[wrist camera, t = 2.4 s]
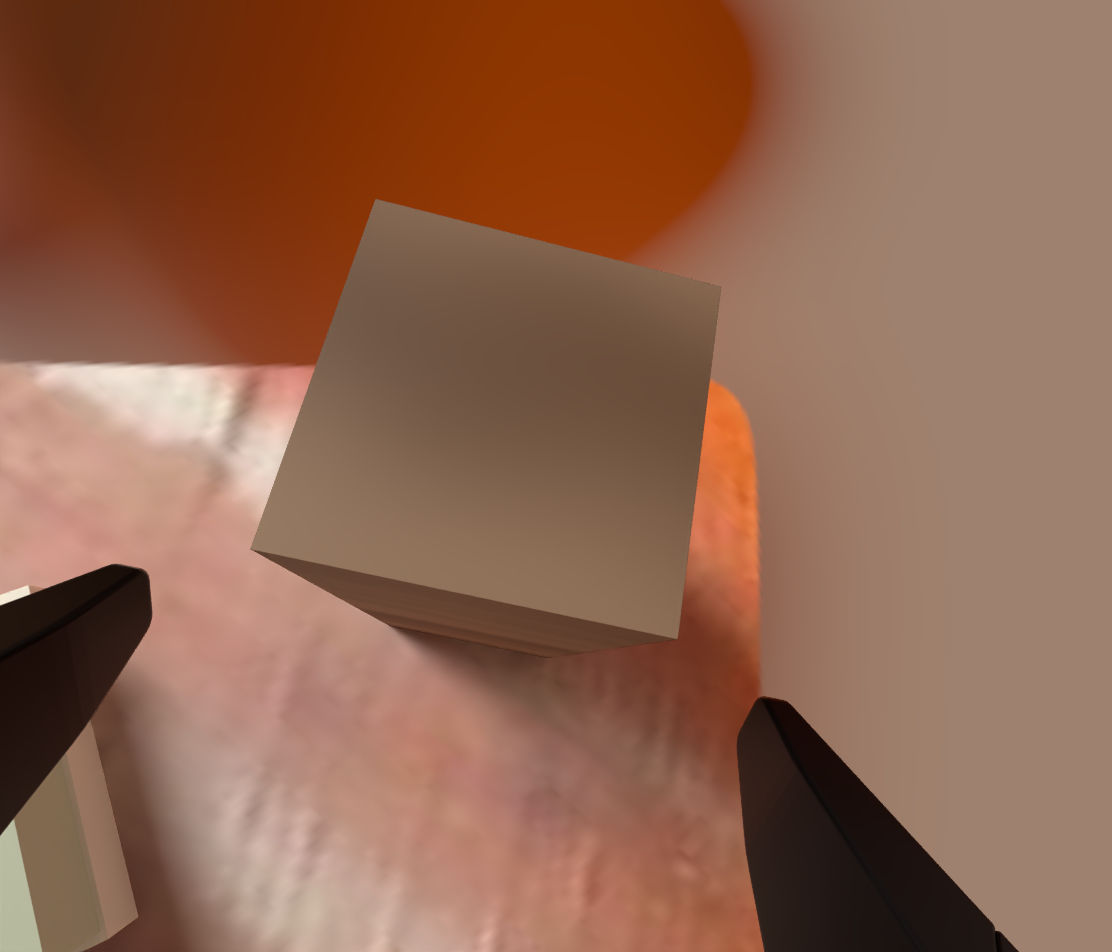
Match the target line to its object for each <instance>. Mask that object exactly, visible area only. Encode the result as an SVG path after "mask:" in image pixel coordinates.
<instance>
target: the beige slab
mask: <svg viewBox="0 0 1112 952" xmlns="http://www.w3.org/2000/svg"><path fill="white" fill-rule="evenodd" d="M43 589H45V588H40V587H35V586H30V585H27V586H25V587H22V588H19V589H16V590H13V591H10V592H8V593H5V594H2V595H0V605H2V604H5V603H8V602H10V601H13V600H16V599H18V598H21V597H24V596H27V595H29V594H32V593H35V592H37V591H40V590H43ZM61 764H62V769H63V773H64V777H65V781H66V786H67V790H68V794H69V799H70V803H71V807H72V811H73V816H74V820H75V824H76V829H77V833H78V837H79V841H80V846H81V850H82V854H83V858H84V863H85V867H86V871H87V876H88V880H89V884H90V888H91V893H92V897H93V901H94V906H95V910H96V914H97V918H98V923H99V927H100V932H98V933H97V934H96V935H94V936H93V937H91V938H90V939H88V940H87V941H86V942H84V943H83V944H81V945H80V946H79V947H77V948H76V949H74V950H73V951H72V952H83V951H85V950H87V949H89V948H91V947H93V946H95V945H97V944H99V943H101V942H103V941H105V940H107V939H109V938H110V937H112V936H113V935H115V934H116V933H117V932H119V931H120V930H121V929H123V928H124V927H125V926H127V925H128V924H129V923H131V922H132V921H134V920H135V919H136V918H138V913H137V909H136V905H135V901H134V896H133V892H132V888H131V884H130V880H129V876H128V872H127V868H126V863H125V859H124V855H123V851H122V847H121V843H120V839H119V835H118V830H117V826H116V822H115V818H114V814H113V810H112V806H111V802H110V797H109V793H108V789H107V785H106V781H105V777H104V773H103V769H102V764H101V760H100V756H99V752H98V748H97V744H96V740H95V736H94V731H93V727H92V723H91V720H90V721H89V723H88V724H87V726H86V727H85V728H84V730H83V731H82V732H81V734H80V735H79V736H78V738H77V739H76V740H75V742H74V743H73V744H72V746H71V747H70V748H69V749H68V751H67V752H66V753H65V755H64V756H63V757H62V758H61Z"/></svg>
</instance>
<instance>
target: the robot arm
mask: <svg viewBox="0 0 1112 952" xmlns="http://www.w3.org/2000/svg"><path fill="white" fill-rule="evenodd" d="M151 620H152V602H151V591H150V580H149V575H148V573H147V572H146V571H145V570H144V569H142V568H137V567H132V566H127V565H123V564H111V565H108V566H105V567H102V568H100V569H97V570H94V571H92V572H89V573H86V574H84V575H81V576H78V577H75V578H73V579H70V580H67V581H65V582H62V583H59V584H56V585H54V586H51V587H48V588H46V589H43V590H40V591H37V592H35V593H32V594H29V595H27V596H24V597H21V598H18V599H16V600H13V601H10V602H8V603H5V604H2V605H0V836H1V834H2V833H3V832H4V831H5V829H6V828H7V827H8V826H9V824H10V823H11V822H12V821H13V819H14V818H15V817H16V815H17V814H18V813H19V812H20V810H21V809H22V808H23V807H24V805H25V804H26V803H27V802H28V800H29V799H30V798H31V796H32V795H33V794H34V793H35V791H36V790H37V789H38V788H39V786H40V785H41V784H42V782H43V781H44V780H45V779H46V777H47V776H48V775H49V774H50V772H51V771H52V770H53V769H54V767H55V766H56V765H57V763H58V762H59V761H60V760H61V758H62V757H63V756H64V755H65V753H66V752H67V751H68V749H69V748H70V747H71V746H72V744H73V743H74V742H75V740H76V739H77V738H78V736H79V735H80V734H81V732H82V731H83V730H84V728H85V727H86V726H87V724H88V723H89V721H90V720H91V718H92V717H93V715H94V714H95V712H96V711H97V709H98V708H99V706H100V704H101V703H102V701H103V700H104V698H105V697H106V695H107V693H108V692H109V690H110V689H111V687H112V686H113V684H114V682H115V681H116V679H117V678H118V676H119V675H120V673H121V671H122V670H123V668H124V667H125V665H126V664H127V662H128V660H129V659H130V657H131V656H132V654H133V653H134V651H135V649H136V648H137V646H138V645H139V643H140V642H141V640H142V638H143V637H144V635H145V634H146V632H147V630H148V628H149V626H150V623H151ZM737 758H738V769H739V781H740V793H741V805H742V816H743V828H744V838H745V847H746V855H747V861H748V867H749V872H750V878H751V883H752V888H753V894H754V899H755V904H756V910H757V915H758V920H759V925H760V931H761V936H762V941H763V947H764V952H1019V951H1018V950H1017V949H1016V948H1015V947H1014V946H1013V945H1012V944H1011V943H1010V942H1009V941H1008V940H1007V938H1005V936H1004V935H1003V934H1002V933H1001V932H999V931H995V927H994V925H993V923H992V922H991V921H990V920H989V919H988V918H987V917H986V916H985V915H984V914H983V913H982V912H981V910H979V908H978V907H977V906H976V905H975V904H974V903H973V902H972V901H971V900H970V899H969V898H968V896H967V895H966V894H965V893H964V892H963V891H962V890H961V889H960V888H959V887H958V886H957V884H956V883H955V882H954V881H953V880H952V879H951V878H950V877H949V876H948V875H947V874H946V873H945V871H944V870H943V869H942V868H941V867H940V866H939V865H938V864H937V863H936V862H935V861H934V860H933V858H932V857H931V856H930V855H929V854H928V853H927V852H926V851H925V850H924V849H923V848H922V846H921V845H920V844H919V843H918V842H917V841H916V840H915V839H914V838H913V837H912V836H911V834H910V833H909V832H908V831H907V830H906V829H905V828H904V827H903V826H902V825H901V824H900V823H899V821H897V819H896V818H895V817H894V816H893V815H892V814H891V813H890V812H889V811H888V810H887V808H886V807H885V806H884V805H883V804H882V803H881V802H880V801H879V800H878V799H877V798H876V796H874V794H873V793H872V792H871V791H870V790H869V789H868V788H867V787H866V786H865V785H864V784H863V782H862V781H861V780H860V779H859V778H858V777H857V776H856V775H855V774H854V773H853V772H852V771H851V769H850V768H849V767H848V766H847V765H846V764H845V763H844V762H843V761H842V760H841V758H839V756H838V755H837V754H836V753H835V752H834V751H833V750H832V749H831V748H830V747H829V746H828V745H827V743H826V742H825V741H824V740H823V739H822V738H821V737H820V736H819V735H818V734H817V733H816V731H815V730H814V729H813V728H812V727H811V726H810V725H809V724H808V723H807V722H806V720H804V718H803V717H802V716H801V715H800V714H799V713H798V712H797V711H796V710H795V709H794V708H793V706H792V705H791V704H789V703H788V702H787V701H784V700H780V699H776V698H771V697H765V696H763V697H759V698H758V699H757V700H756V701H755V703H754V705H753V707H752V709H751V710H750V712H749V714H748V716H747V718H746V720H745V722H744V724H743V725H742V727H741V729H740V731H739V734H738V738H737Z"/></svg>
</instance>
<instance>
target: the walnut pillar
mask: <svg viewBox="0 0 1112 952" xmlns="http://www.w3.org/2000/svg"><path fill="white" fill-rule="evenodd" d="M720 293H721V286H717V285H713V284H709V283H705V282H701V281H697V280H693V279H690V278H686V277H682V276H677V275H674V274H670V273H666V272H662V271H658V270H654V269H650V268H646V267H642V266H638V265H634V264H630V263H626V262H622V261H618V260H614V259H610V258H606V257H603V256H599V255H595V254H591V253H586V252H583V251H578V250H575V249H571V248H567V247H563V246H559V245H555V244H551V243H547V242H543V241H539V240H535V239H531V238H527V237H523V236H520V235H516V234H512V233H507V232H504V231H500V230H496V229H491V228H487V227H484V226H480V225H476V224H472V223H468V222H464V221H460V220H456V219H452V218H448V217H444V216H440V215H436V214H433V213H429V212H425V211H421V210H417V209H412V208H409V207H405V206H401V205H397V204H393V203H389V202H384V201H381V200H377V199H376V200H375V203H374V206H373V208H372V211H371V214H370V216H369V219H368V222H367V225H366V228H365V230H364V234H363V236H362V239H361V242H360V244H359V247H358V250H357V253H356V256H355V258H354V261H353V264H352V267H351V270H350V272H349V275H348V278H347V281H346V284H345V286H344V289H343V292H342V295H341V297H340V300H339V303H338V306H337V309H336V311H335V314H334V317H333V320H332V323H331V325H330V328H329V331H328V334H327V337H326V340H325V342H324V345H323V348H322V351H321V353H320V356H319V359H318V362H317V364H316V367H315V370H314V373H313V376H312V378H311V381H310V384H309V387H308V390H307V392H306V395H305V398H304V401H303V404H302V406H301V409H300V412H299V415H298V418H297V420H296V423H295V426H294V429H293V431H292V434H291V437H290V440H289V443H288V445H287V448H286V451H285V454H284V457H283V459H282V462H281V465H280V468H279V471H278V473H277V476H276V479H275V482H274V485H273V487H272V490H271V493H270V496H269V498H268V501H267V504H266V507H265V510H264V512H263V515H262V518H261V521H260V524H259V526H258V529H257V532H256V535H255V538H254V540H253V543H252V546H251V550H253V551H255V552H257V553H258V554H260V555H262V556H264V557H266V558H267V559H269V560H271V561H273V562H275V563H277V564H278V565H280V566H282V567H284V568H286V569H287V570H289V571H291V572H293V573H295V574H296V575H298V576H300V577H302V578H304V579H306V580H307V581H309V582H311V583H313V584H315V585H316V586H318V587H320V588H322V589H324V590H326V591H327V592H329V593H331V594H333V595H335V596H336V597H338V598H340V599H342V600H344V601H345V602H347V603H349V604H351V605H353V606H355V607H356V608H358V609H360V610H362V611H364V612H365V613H367V614H369V615H371V616H373V617H375V618H376V619H378V620H380V621H382V622H384V623H385V624H387V625H390V626H395V627H400V628H405V629H410V630H415V631H419V632H424V633H429V634H434V635H439V636H444V637H449V638H453V639H458V640H463V641H468V642H473V643H478V644H483V645H488V646H492V647H497V648H502V649H507V650H512V651H517V652H522V653H526V654H531V655H536V656H541V657H546V658H552V657H559V656H566V655H572V654H579V653H586V652H593V651H600V650H607V649H614V648H621V647H627V646H634V645H641V644H648V643H655V642H662V641H669V640H676V639H678V633H679V625H680V617H681V609H682V601H683V593H684V585H685V576H686V568H687V560H688V552H689V544H690V536H691V528H692V520H693V512H694V504H695V495H696V487H697V479H698V471H699V463H700V455H701V447H702V439H703V431H704V422H705V414H706V406H707V398H708V390H709V382H710V374H711V366H712V358H713V349H714V341H715V333H716V325H717V317H718V309H719V301H720Z"/></svg>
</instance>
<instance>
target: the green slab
mask: <svg viewBox="0 0 1112 952" xmlns="http://www.w3.org/2000/svg"><path fill="white" fill-rule="evenodd" d="M98 932H100V927H99V923H98V918H97V914H96V910H95V906H94V901H93V897H92V893H91V888H90V884H89V880H88V876H87V871H86V867H85V863H84V858H83V854H82V850H81V846H80V841H79V837H78V833H77V829H76V824H75V820H74V816H73V811H72V807H71V803H70V799H69V794H68V790H67V786H66V781H65V777H64V773H63V769H62V764H61V760H60V761H59V762H58V763H57V765H56V766H55V767H54V769H53V770H52V771H51V772H50V774H49V775H48V776H47V777H46V779H45V780H44V781H43V782H42V784H41V785H40V786H39V788H38V789H37V790H36V791H35V793H34V794H33V795H32V796H31V798H30V799H29V800H28V802H27V803H26V804H25V805H24V807H23V808H22V809H21V810H20V812H19V813H18V814H17V815H16V817H15V818H14V819H13V821H12V822H11V823H10V824H9V826H8V827H7V828H6V829H5V831H4V832H3V833H2V834H1V836H0V952H72V951H73V950H74V949H76V948H77V947H79V946H80V945H81V944H83V943H84V942H86V941H87V940H88V939H90V938H91V937H93V936H94V935H96V934H97V933H98Z"/></svg>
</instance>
